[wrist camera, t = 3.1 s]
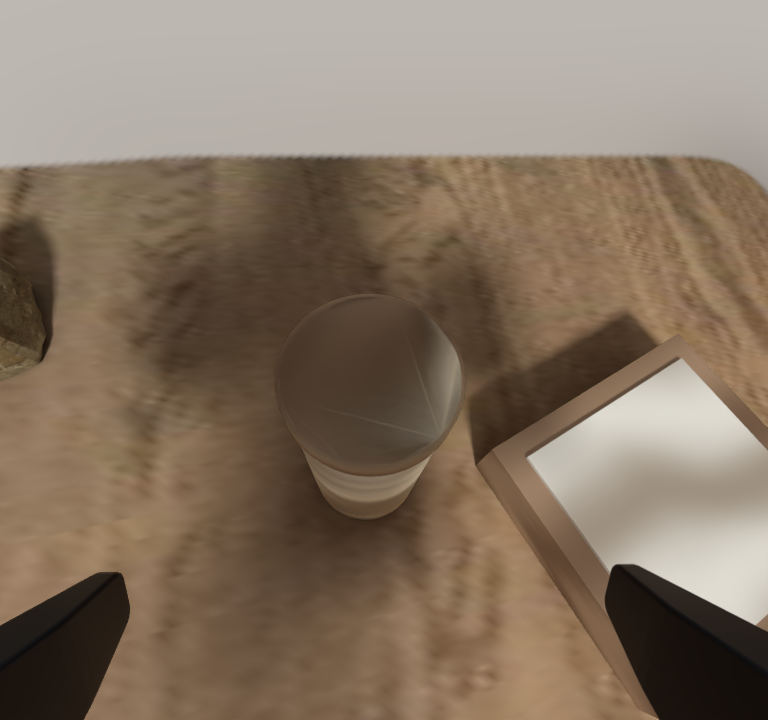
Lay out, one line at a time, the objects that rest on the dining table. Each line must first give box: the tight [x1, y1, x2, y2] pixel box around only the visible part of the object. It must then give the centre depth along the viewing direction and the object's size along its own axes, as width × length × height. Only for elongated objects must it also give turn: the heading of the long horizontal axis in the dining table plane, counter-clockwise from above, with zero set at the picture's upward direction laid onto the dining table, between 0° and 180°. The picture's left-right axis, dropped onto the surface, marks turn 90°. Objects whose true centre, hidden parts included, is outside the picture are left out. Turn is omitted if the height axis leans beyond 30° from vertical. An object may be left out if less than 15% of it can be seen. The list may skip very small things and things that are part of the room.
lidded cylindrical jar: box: [275, 294, 466, 520], centre depth 17 cm, size 5×5×11 cm
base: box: [476, 334, 768, 719], centre depth 20 cm, size 11×11×3 cm
